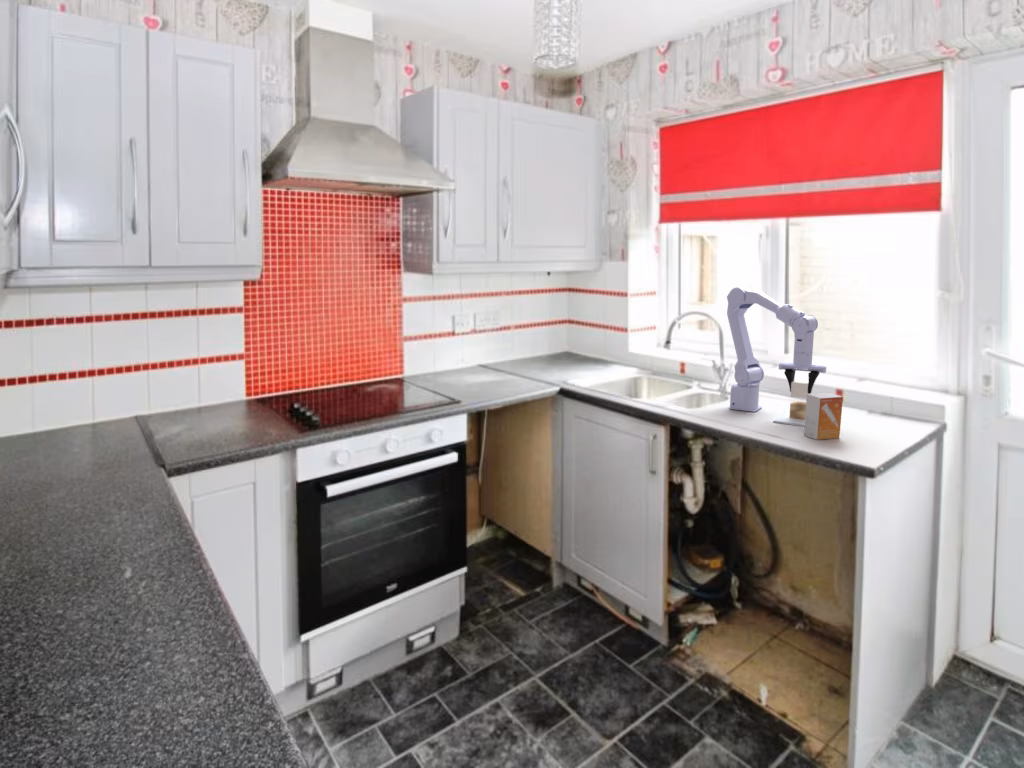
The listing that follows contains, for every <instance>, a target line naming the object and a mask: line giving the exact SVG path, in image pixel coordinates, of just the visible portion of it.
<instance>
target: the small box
mask: <svg viewBox="0 0 1024 768" xmlns="http://www.w3.org/2000/svg"><path fill="white" fill-rule="evenodd" d="M843 400H844V397H843V395H842V396H841V395H838V394H835V393H831V392H825V393H823V392H822V393H820V392H819V393H810V394H807V399H806V401H805V402H806V413H805V426H803V427H804V429H803V430H804V431H803V436H806V437H808V438H811V439H814V440H817V441H819V440H826V439H827V440H829V439H832V440H833V439H840V434H841V433H840V432H841V425H842V424H841V423H842V410H843V402H844V401H843Z"/></svg>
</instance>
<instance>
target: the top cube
mask: <svg viewBox="0 0 1024 768" xmlns="http://www.w3.org/2000/svg"><path fill="white" fill-rule="evenodd" d="M808 385H809V380H801V379H800V380H799V379H794V381H793V382H791V392H790V398H797V399H807V394H809V393H808Z"/></svg>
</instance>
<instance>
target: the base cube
mask: <svg viewBox="0 0 1024 768" xmlns="http://www.w3.org/2000/svg"><path fill="white" fill-rule="evenodd" d="M789 405H790V406H789V412H790V417H789V418H793V419H802V420H805V413H806V401H801V400H800V401H799V400H793V401H792V402H791V403H790V404H789Z"/></svg>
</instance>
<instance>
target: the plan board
mask: <svg viewBox="0 0 1024 768" xmlns="http://www.w3.org/2000/svg"><path fill="white" fill-rule="evenodd" d="M789 417H790V411H784V412H783V413H782V414H780V415H778V417H776V418H775V419H774V420H773V423H775V424H782V425H783V424H784V425H790V426H798V427H805V420H802V419H793V418H789Z"/></svg>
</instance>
